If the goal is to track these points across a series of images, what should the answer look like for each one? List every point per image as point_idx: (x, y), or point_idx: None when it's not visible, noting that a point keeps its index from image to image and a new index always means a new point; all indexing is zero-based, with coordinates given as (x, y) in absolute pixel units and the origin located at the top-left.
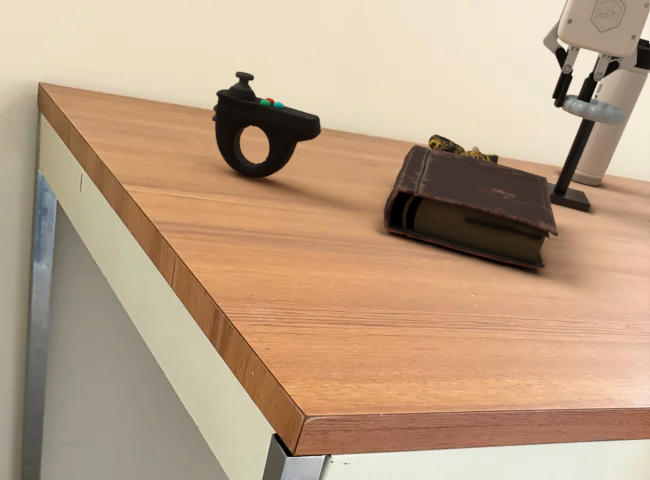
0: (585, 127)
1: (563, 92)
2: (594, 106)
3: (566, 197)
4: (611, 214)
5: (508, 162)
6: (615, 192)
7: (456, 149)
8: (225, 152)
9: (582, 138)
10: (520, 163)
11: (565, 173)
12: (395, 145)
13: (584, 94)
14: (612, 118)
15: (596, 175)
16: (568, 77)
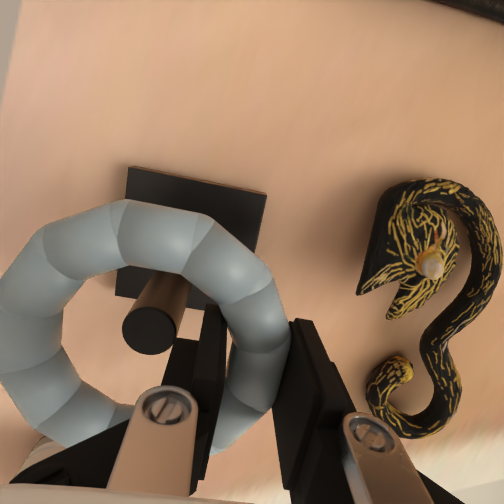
0: (168, 291)
1: (317, 345)
2: (184, 232)
3: (187, 190)
4: (62, 199)
5: (234, 467)
6: (3, 420)
7: (403, 377)
8: None
9: (169, 276)
10: (204, 481)
11: None
12: (495, 395)
13: (219, 339)
14: (84, 211)
15: (45, 448)
16: (337, 392)
